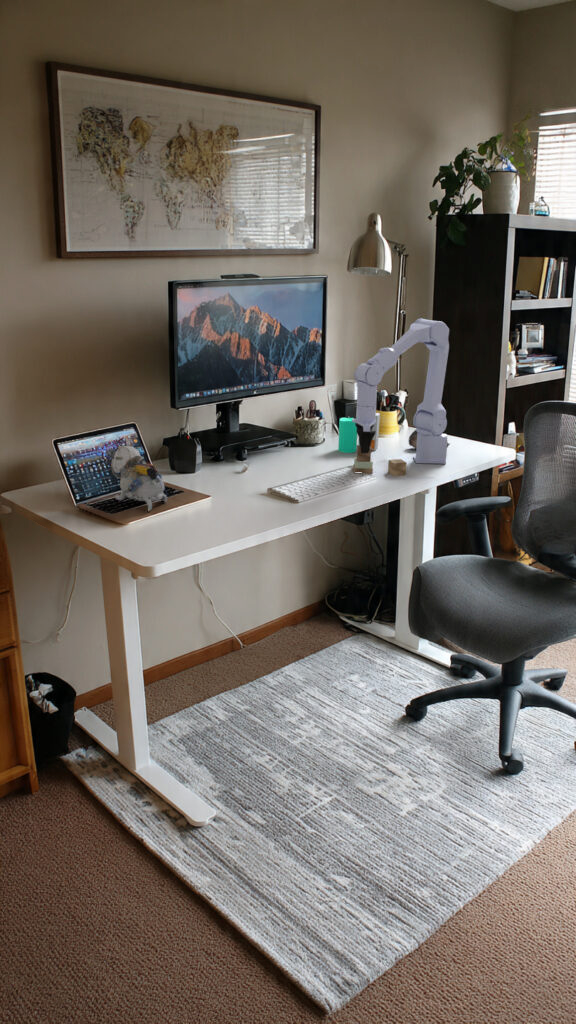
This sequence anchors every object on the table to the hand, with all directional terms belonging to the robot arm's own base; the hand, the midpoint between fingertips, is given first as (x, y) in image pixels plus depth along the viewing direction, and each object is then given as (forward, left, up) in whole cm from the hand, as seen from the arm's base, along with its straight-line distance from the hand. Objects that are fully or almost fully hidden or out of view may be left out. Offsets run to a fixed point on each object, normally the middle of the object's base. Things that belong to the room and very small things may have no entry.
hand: (364, 449), depth 251 cm
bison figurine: (-23, -26, -7) cm, 35 cm away
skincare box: (-3, -27, -7) cm, 28 cm away
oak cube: (-10, +2, -7) cm, 12 cm away
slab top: (0, 0, -5) cm, 5 cm away
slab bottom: (0, 0, -7) cm, 7 cm away
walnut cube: (0, 0, -3) cm, 3 cm away
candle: (+4, -24, -7) cm, 25 cm away
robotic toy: (+61, +37, -7) cm, 72 cm away
